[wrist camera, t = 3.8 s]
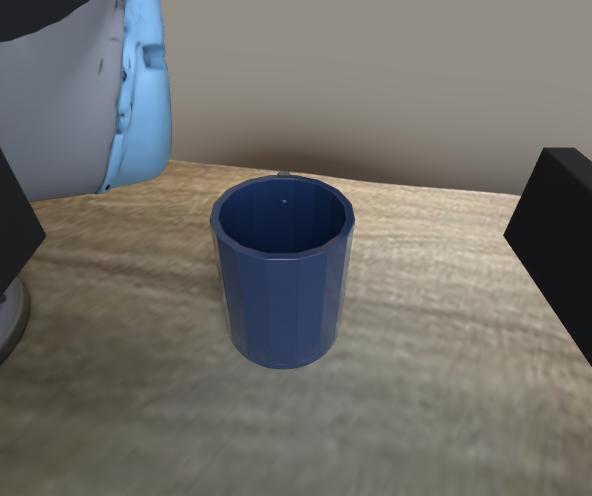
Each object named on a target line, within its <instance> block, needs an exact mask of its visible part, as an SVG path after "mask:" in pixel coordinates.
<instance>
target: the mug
mask: <svg viewBox="0 0 592 496" xmlns="http://www.w3.org/2000/svg"><path fill="white" fill-rule="evenodd" d="M354 225H355V217H354V212H353V208H352V204H351V203H350V202H349V200H348V199H347V198H346V197H345V196H344V195H343V194H342V193H341V192H340V191H339V190H338V189H336V188H334V187H332V186H330V185H328V184H326V183H324V182H322V181H319V180H316V179H311V178H306V177H302V176H297V175H291V174H290V173H289V172H287V171H281V172H279V173H278V174H277V175H269V176H264V177H259V178H255V179H250V180H246V181H244V182H242V183H240V184H238V185H236V186H234V187H232V188H230V189H228V190H227V191H226V192H225V193H224V194H223V195H222V196H221V197H220V198H219V199H218V200H217V201H216V202H215V203H214V205H213V209H212V213H211V217H210V226H211V232H212V238H213V244H214V250H215V256H216V262H217V268H218V274H219V280H220V287H221V293H222V299H223V305H224V311H225V317H226V323H227V327H228V329H229V334H230V338H231V340H232V342H233V344H234V345H235V347H236V348H237V350H238V351H239V352H240V353H241V354H242V355H243V356H245V357H246V358H247V359H249V360H250V361H252V362H254V363H256V364H258V365H261V366H264V367H268V368H273V369H293V368H298V367H302V366H305V365H308V364H310V363H312V362H314V361H316V360H318V359H319V358H321V357H322V356H323V355H324V354H325V353H326V352H327V351H328V350H329V349H330V348H331V347H332V345H333V344H334V342H335V340H336V338H337V334H338V330H339V327H340V323H341V316H342V309H343V302H344V295H345V288H346V281H347V274H348V267H349V260H350V253H351V246H352V239H353V232H354Z"/></svg>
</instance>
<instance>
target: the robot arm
mask: <svg viewBox="0 0 592 496" xmlns="http://www.w3.org/2000/svg"><path fill="white" fill-rule="evenodd" d="M164 57H165V45H164V27H163V18H162V11H161V4H160V0H0V364H1V363H2V362H3V360H4V359H5V358H6V357H7V356H8V354H9V353H10V352H11V350H12V349H13V347H14V346H15V344H16V343H17V341H18V340H19V338H20V336H21V334H22V332H23V330H24V328H25V325H26V322H27V319H28V315H29V307H30V304H29V297H28V293H27V291H26V289H25V287H24V285H23V284H22V282H21V281H20V279H19V278H18V276H17V275H18V273H19V272H20V271H21V269H22V268H23V267H24V265H25V264H26V263H27V261H28V260H29V259H30V257H31V256H32V255H33V253H34V252H35V251H36V249H37V248H38V247H39V245H40V244H41V243H42V241H43V240H44V239H45V237H46V234H45V232H44V230H43V228H42V226H41V225H40V223H39V221H38V219H37V217H36V215H35V213H34V211H33V209H32V207H31V205H30V203H29V202H34V201H41V200H49V199H56V198H64V197H71V196H79V195H86V194H93V193H94V194H103V193H105V192H107V191H109V190H110V189H112V188H117V187H121V186H126V185H131V184H136V183H141V182H146V181H149V180H152V179H154V178H156V177H157V176H159V175H160V174H161V173H162V172H163V170H164V169H165V167H166V166H167V164H168V162H169V158H170V154H171V143H172V124H171V123H172V122H171V101H170V88H169V77H168V69H167V64H166V62H165V59H164ZM503 236H504V237H505V239H506V240H507V242H508V243H509V245H510V246H511V248H512V249H513V251H514V252H515V254H516V255H517V257H518V258H519V260H520V261H521V263H522V264H523V266H524V267H525V269H526V270H527V272H528V273H529V275H530V276H531V278H532V279H533V281H534V282H535V284H536V285H537V286H538V288H539V289H540V291H541V292H542V294H543V295H544V297H545V298H546V300H547V301H548V303H549V304H550V306H551V307H552V309H553V310H554V312H555V313H556V315H557V316H558V318H559V319H560V321H561V322H562V324H563V325H564V327H565V328H566V330H567V331H568V333H569V334H570V335H571V337H572V338H573V340H574V341H575V343H576V344H577V346H578V347H579V349H580V350H581V352H582V353H583V355H584V356H585V358H586V359H587V361H588V362H589V364H590V365H591V367H592V162H591V161H590V160H589V159H588V158H586V157H585V156H584V155H583V154H581V153H580V152H579V151H578V150H577V149H575V148H543V150H542V152H541V154H540V157H539V159H538V161H537V163H536V165H535V167H534V170H533V172H532V174H531V177H530V178H529V181H528V183H527V185H526V187H525V189H524V191H523V193H522V196H521V198H520V200H519V202H518V204H517V207H516V209H515V211H514V213H513V215H512V217H511V220H510V222H509V224H508V226H507V228H506V230H505V233H504V235H503Z"/></svg>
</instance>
